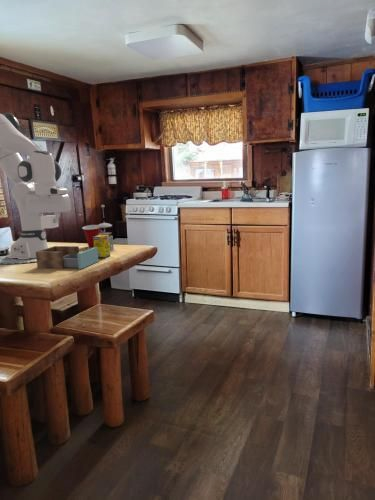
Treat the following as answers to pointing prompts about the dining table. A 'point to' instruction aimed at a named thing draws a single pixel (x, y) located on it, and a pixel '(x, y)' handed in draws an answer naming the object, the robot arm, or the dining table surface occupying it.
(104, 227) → the french press
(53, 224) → the block
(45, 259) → the brown wooden crate
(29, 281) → the dining table surface
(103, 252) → the yellow cylinder
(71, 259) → the tray
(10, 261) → the dining table surface
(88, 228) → the plastic cup
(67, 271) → the dining table surface
